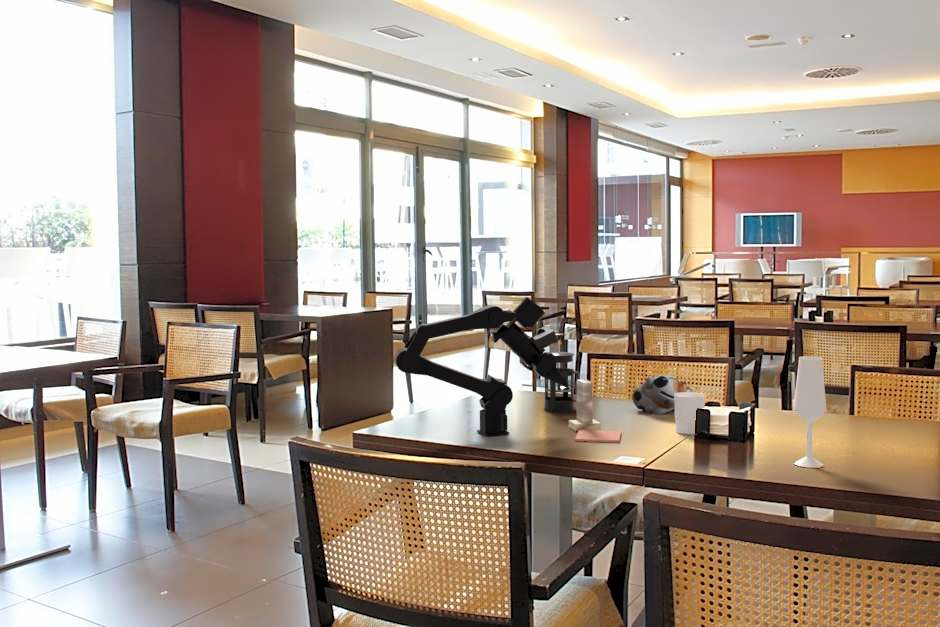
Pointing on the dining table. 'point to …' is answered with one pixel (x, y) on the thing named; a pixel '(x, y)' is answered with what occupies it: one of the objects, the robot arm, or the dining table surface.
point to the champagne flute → (809, 400)
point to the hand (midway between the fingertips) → (559, 381)
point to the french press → (564, 401)
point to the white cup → (687, 410)
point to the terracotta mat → (598, 436)
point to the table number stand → (584, 408)
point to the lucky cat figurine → (658, 394)
